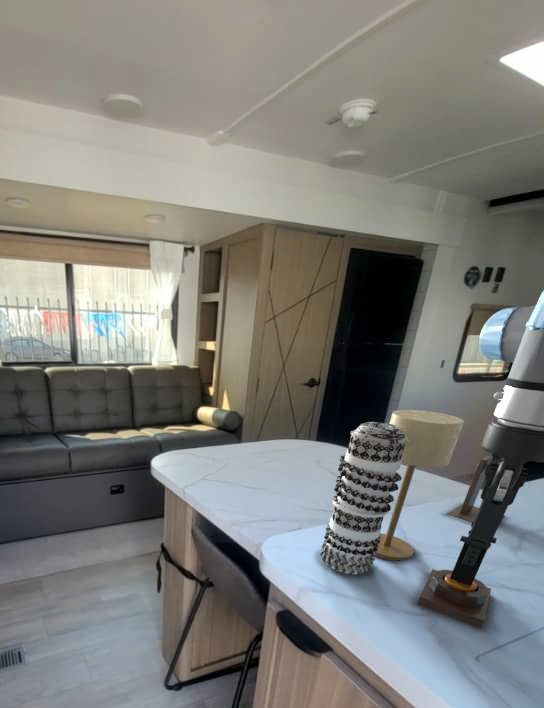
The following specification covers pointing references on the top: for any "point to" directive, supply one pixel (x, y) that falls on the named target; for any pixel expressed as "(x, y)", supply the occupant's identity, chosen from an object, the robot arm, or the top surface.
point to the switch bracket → (472, 493)
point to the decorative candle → (363, 496)
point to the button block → (455, 599)
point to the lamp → (418, 464)
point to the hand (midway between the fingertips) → (461, 579)
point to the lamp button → (460, 584)
